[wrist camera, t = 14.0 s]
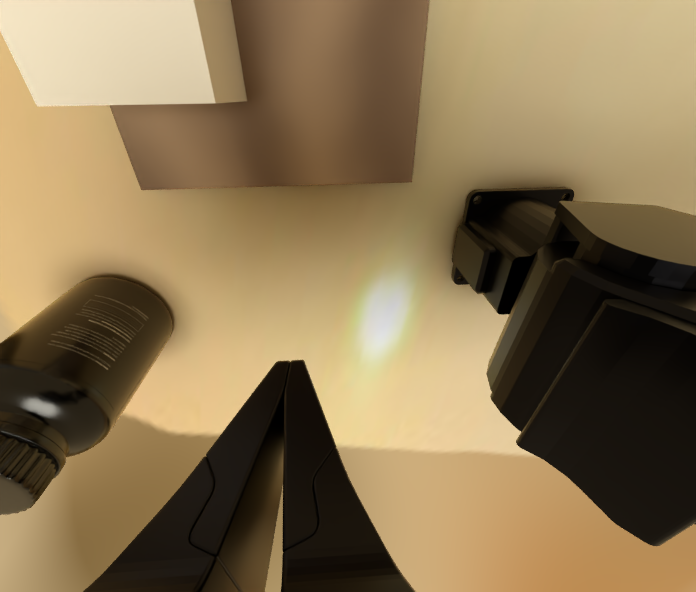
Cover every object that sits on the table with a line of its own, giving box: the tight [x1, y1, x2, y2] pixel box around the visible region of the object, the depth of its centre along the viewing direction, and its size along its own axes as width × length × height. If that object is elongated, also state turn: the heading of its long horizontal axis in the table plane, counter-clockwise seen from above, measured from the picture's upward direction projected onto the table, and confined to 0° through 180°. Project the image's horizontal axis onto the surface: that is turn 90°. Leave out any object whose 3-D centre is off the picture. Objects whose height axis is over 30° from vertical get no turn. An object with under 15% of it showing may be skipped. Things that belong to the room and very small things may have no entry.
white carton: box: [0, 0, 247, 106], centre depth 11 cm, size 6×6×5 cm
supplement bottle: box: [0, 277, 172, 515], centre depth 17 cm, size 7×7×12 cm
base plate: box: [110, 0, 429, 190], centre depth 14 cm, size 15×14×1 cm
